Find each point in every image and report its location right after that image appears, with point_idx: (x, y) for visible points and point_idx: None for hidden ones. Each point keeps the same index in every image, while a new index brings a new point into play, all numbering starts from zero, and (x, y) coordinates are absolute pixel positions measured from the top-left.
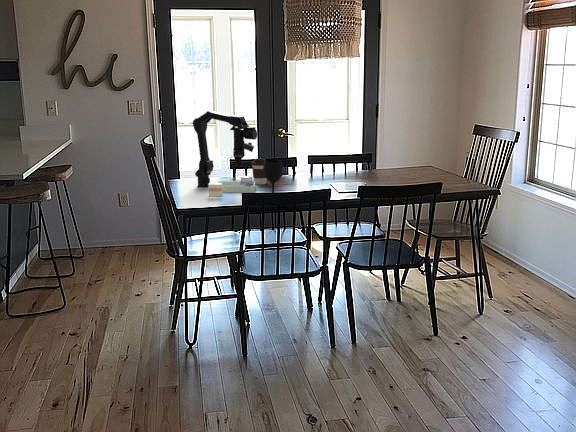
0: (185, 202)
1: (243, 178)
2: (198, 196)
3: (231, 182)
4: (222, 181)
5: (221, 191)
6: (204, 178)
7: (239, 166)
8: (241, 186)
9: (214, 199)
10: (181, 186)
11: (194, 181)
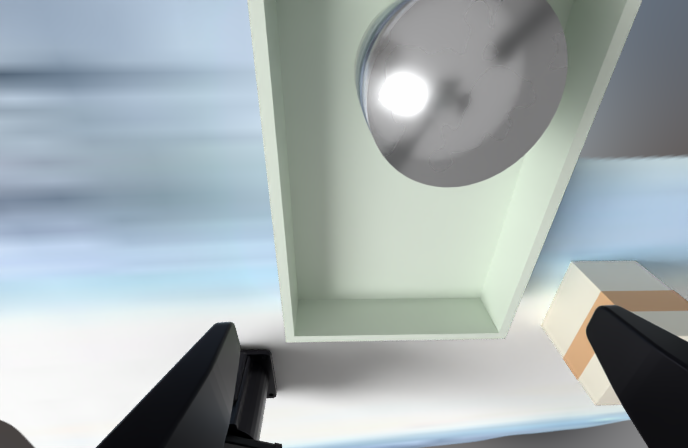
0: None
1: (530, 144)
2: (548, 365)
3: (288, 242)
4: (292, 314)
5: (672, 290)
6: (257, 422)
7: (638, 330)
8: (581, 141)
9: (680, 293)
10: None
11: (93, 416)
